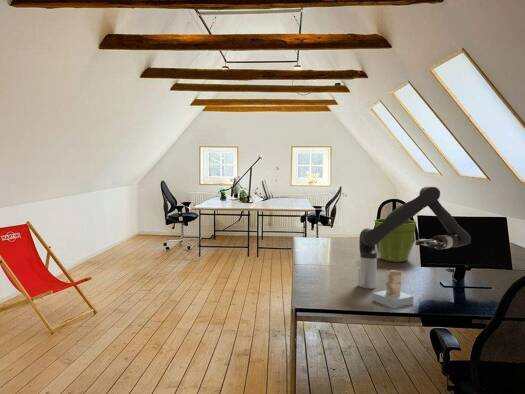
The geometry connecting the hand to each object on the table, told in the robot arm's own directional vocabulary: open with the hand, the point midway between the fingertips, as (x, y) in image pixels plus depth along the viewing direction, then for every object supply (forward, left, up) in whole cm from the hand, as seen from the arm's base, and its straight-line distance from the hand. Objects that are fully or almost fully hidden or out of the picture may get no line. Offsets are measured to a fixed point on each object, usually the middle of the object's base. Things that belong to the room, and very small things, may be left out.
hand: (422, 244), depth 232 cm
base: (0, -21, -28) cm, 35 cm away
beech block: (0, -21, -24) cm, 32 cm away
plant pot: (-70, +57, -28) cm, 95 cm away
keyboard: (-35, +74, -29) cm, 87 cm away
